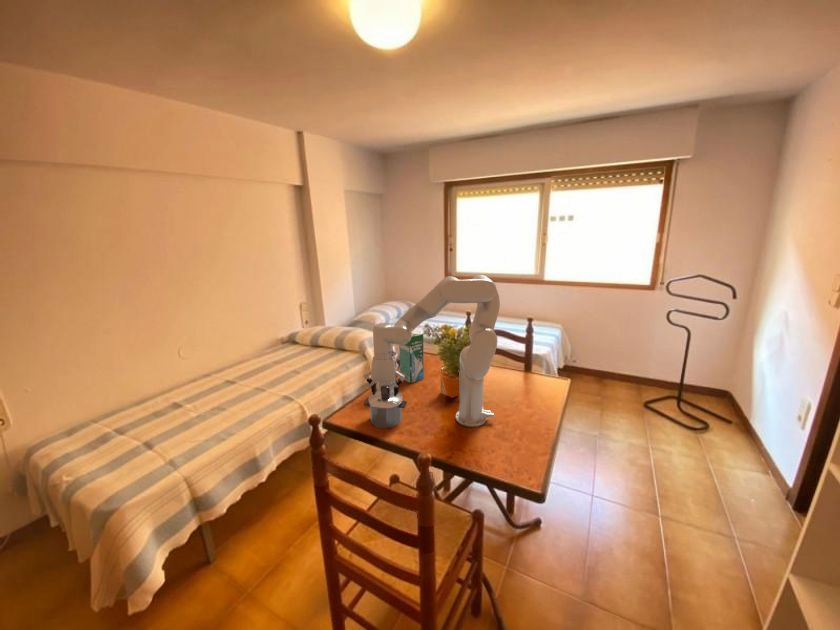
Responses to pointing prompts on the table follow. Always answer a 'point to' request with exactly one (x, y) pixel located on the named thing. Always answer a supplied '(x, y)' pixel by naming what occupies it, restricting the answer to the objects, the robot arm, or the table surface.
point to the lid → (385, 398)
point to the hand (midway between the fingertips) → (385, 394)
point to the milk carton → (412, 359)
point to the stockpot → (386, 415)
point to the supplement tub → (385, 384)
